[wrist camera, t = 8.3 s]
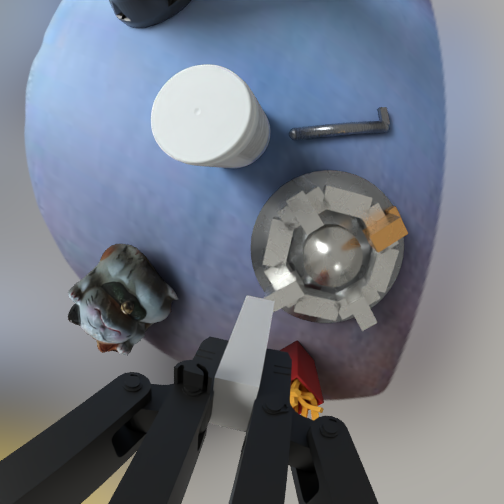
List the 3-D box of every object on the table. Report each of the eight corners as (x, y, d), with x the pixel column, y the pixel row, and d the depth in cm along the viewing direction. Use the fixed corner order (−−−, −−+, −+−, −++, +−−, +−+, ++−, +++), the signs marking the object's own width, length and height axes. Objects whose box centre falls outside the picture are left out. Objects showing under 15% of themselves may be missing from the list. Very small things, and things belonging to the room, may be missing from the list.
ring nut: (256, 294, 37) (249, 315, 31) (282, 175, 33) (280, 174, 27) (367, 318, 35) (377, 342, 30) (402, 207, 31) (422, 213, 25)
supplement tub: (250, 89, 33) (223, 43, 19) (284, 147, 35) (277, 127, 21) (189, 124, 36) (133, 101, 22) (220, 182, 37) (176, 185, 23)
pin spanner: (290, 141, 35) (290, 139, 33) (286, 117, 34) (285, 114, 32) (388, 133, 32) (391, 131, 30) (383, 109, 31) (386, 106, 30)
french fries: (298, 332, 41) (297, 402, 27) (327, 366, 42) (333, 436, 28) (253, 359, 43) (235, 427, 29) (283, 389, 44) (275, 457, 30)
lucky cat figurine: (191, 313, 43) (139, 382, 33) (148, 307, 49) (102, 361, 40) (141, 232, 36) (67, 301, 26) (103, 240, 43) (45, 294, 33)
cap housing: (246, 177, 36) (237, 177, 31) (394, 169, 33) (411, 168, 27) (261, 316, 41) (255, 337, 35) (392, 307, 38) (405, 326, 32)
